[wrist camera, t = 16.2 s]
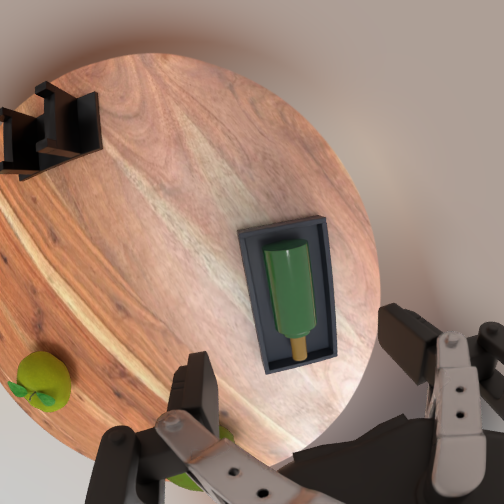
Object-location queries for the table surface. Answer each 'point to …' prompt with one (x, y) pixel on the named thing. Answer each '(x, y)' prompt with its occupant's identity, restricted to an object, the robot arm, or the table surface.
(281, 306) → the green bottle
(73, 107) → the rack
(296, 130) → the table surface
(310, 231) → the tray
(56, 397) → the fruit
